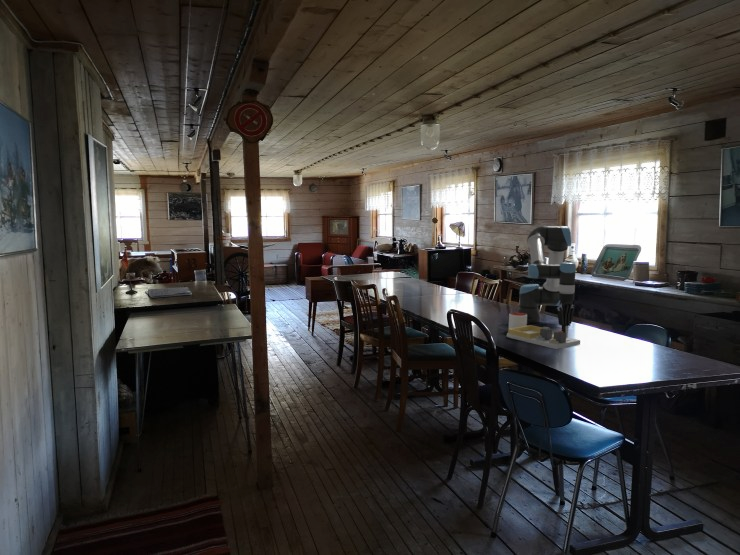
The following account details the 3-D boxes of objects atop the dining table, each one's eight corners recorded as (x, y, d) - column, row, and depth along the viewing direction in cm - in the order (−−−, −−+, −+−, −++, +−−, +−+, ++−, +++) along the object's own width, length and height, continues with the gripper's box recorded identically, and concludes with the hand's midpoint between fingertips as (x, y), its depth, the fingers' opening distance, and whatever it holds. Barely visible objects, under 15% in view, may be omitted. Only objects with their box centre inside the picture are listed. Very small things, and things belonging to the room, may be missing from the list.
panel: (530, 332, 302) (530, 324, 301) (580, 344, 275) (580, 335, 275) (506, 336, 291) (506, 328, 290) (555, 349, 264) (556, 340, 264)
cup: (524, 329, 310) (525, 312, 309) (527, 333, 300) (528, 316, 299) (507, 329, 311) (507, 312, 310) (510, 332, 301) (510, 315, 300)
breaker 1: (544, 337, 280) (545, 326, 280) (552, 338, 277) (552, 327, 276) (540, 338, 278) (540, 326, 277) (547, 339, 274) (547, 328, 274)
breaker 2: (558, 340, 273) (558, 329, 273) (565, 342, 270) (566, 331, 269) (553, 341, 271) (554, 330, 270) (561, 343, 267) (561, 332, 267)
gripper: (567, 290, 276) (565, 335, 279) (552, 292, 269) (550, 338, 272) (580, 292, 270) (578, 337, 273) (565, 294, 263) (562, 341, 265)
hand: (564, 337), depth 272 cm, fingers closed
